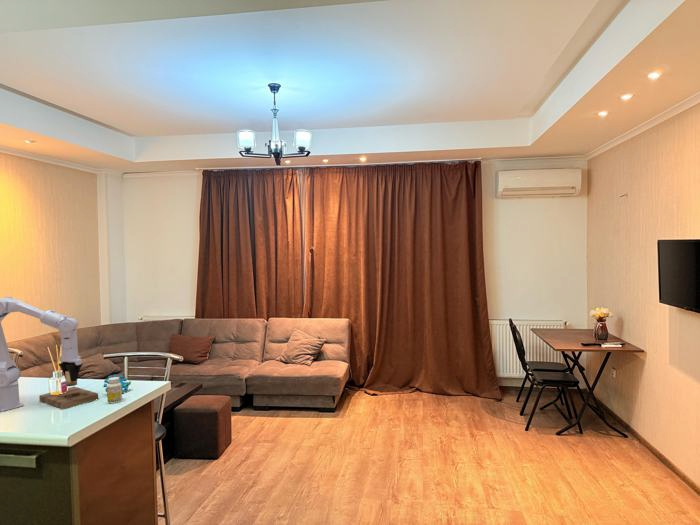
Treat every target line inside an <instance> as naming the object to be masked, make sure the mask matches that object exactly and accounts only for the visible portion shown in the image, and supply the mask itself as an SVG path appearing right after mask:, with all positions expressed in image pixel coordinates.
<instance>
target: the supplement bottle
mask: <svg viewBox="0 0 700 525" xmlns="http://www.w3.org/2000/svg"><path fill="white" fill-rule="evenodd" d="M107 379H108V378H107ZM108 382H109V384H108V383H107V387H106V388H107V392H106V394H107V395H106V396H107V403H108V404H117V403H120V402H122V401H123V393H122V388H121V383H120V382H119V376H117V377H111V378H109V379H108Z"/></svg>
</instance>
